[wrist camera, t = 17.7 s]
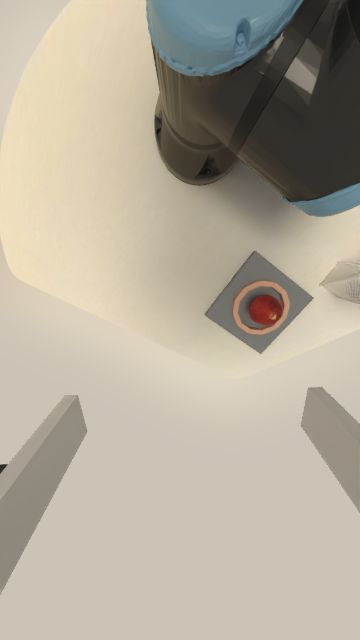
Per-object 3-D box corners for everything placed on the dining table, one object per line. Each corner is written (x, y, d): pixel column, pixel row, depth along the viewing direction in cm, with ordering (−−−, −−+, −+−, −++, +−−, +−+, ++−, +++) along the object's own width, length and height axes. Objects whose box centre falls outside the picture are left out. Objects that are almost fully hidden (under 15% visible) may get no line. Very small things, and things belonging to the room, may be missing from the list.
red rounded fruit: (253, 287, 40) (269, 295, 33) (277, 298, 41) (298, 309, 34) (239, 311, 42) (251, 324, 35) (262, 322, 43) (279, 337, 35)
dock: (204, 313, 44) (206, 317, 41) (253, 251, 39) (258, 251, 37) (258, 351, 47) (263, 357, 44) (310, 296, 42) (318, 299, 40)
